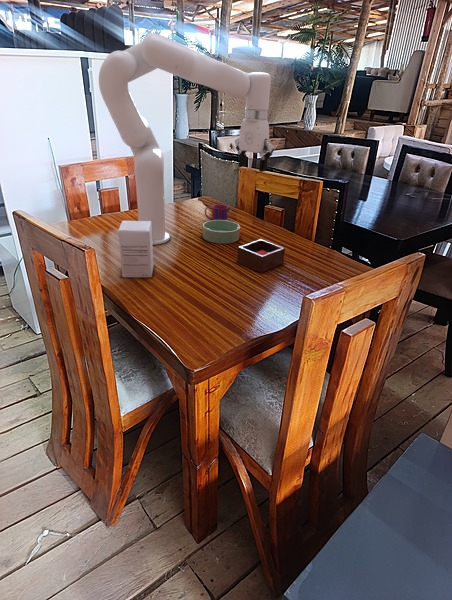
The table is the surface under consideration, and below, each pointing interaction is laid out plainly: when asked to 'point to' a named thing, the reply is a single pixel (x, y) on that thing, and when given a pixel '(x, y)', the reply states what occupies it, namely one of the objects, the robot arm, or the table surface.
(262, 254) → the red small block
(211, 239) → the bowl
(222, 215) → the mug
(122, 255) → the white product box
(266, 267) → the box
